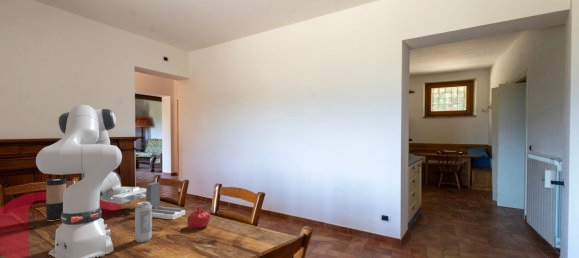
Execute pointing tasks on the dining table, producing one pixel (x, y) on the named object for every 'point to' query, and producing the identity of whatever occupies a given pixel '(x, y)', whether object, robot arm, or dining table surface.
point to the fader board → (167, 213)
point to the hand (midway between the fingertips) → (143, 196)
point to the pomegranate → (198, 219)
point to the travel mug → (55, 198)
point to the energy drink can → (143, 221)
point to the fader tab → (153, 194)
